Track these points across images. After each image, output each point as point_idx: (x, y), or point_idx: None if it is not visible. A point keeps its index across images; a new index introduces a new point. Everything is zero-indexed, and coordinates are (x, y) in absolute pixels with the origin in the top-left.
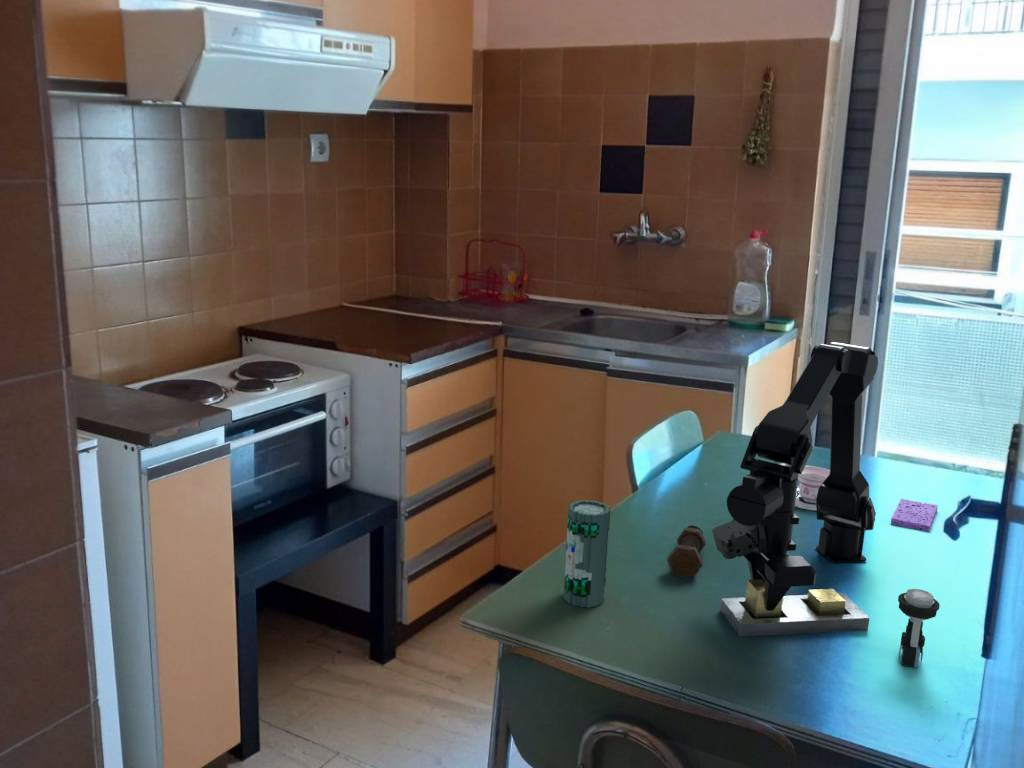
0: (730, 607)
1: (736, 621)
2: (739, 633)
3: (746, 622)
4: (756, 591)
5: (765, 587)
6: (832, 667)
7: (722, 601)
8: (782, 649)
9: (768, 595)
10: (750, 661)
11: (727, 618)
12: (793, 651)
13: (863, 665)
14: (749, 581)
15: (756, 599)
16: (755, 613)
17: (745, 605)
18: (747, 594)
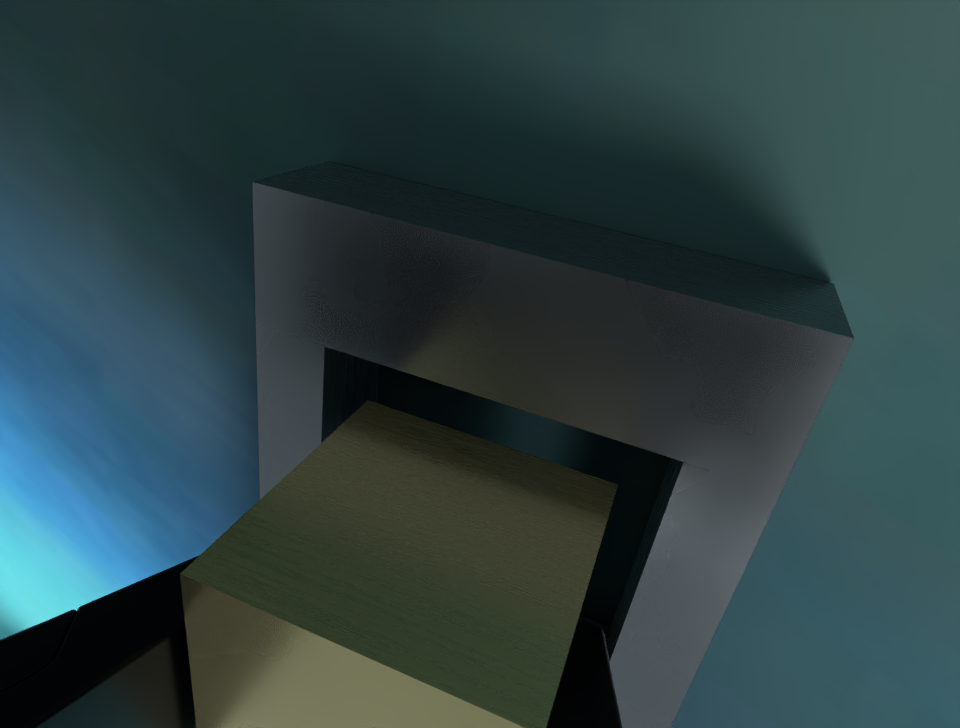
0: (595, 294)
1: (387, 203)
2: (340, 169)
3: (275, 248)
4: (236, 577)
5: (73, 672)
6: (16, 443)
7: (811, 321)
8: (158, 339)
9: (108, 600)
10: (10, 14)
11: (624, 236)
12: (139, 382)
13: (48, 566)
14: (481, 712)
15: (278, 504)
16: (357, 415)
17: (665, 500)
18: (549, 556)
